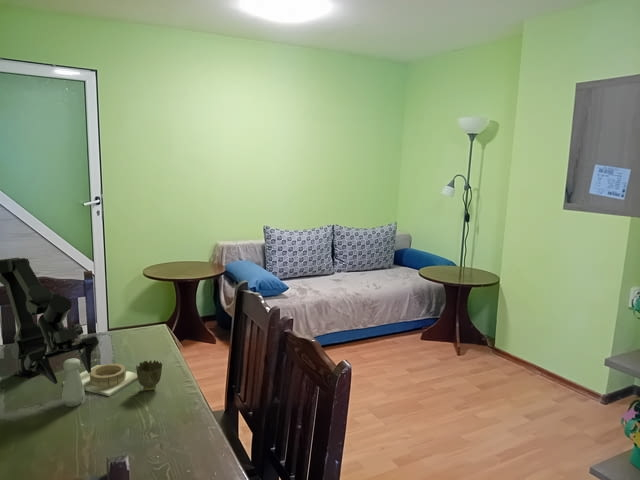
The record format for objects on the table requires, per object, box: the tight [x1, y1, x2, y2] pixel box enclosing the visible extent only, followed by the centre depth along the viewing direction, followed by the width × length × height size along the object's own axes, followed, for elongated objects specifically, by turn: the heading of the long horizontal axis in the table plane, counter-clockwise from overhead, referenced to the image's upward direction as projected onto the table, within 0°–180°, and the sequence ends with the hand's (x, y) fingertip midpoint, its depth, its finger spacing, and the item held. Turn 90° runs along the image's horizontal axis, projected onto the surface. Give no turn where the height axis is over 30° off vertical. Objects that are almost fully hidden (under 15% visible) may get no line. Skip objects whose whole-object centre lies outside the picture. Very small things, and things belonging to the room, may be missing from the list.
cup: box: [135, 360, 163, 393], centre depth 141 cm, size 8×7×8 cm
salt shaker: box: [61, 357, 86, 408], centre depth 131 cm, size 6×6×13 cm
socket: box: [62, 363, 138, 397], centre depth 145 cm, size 18×14×4 cm
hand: (73, 377), depth 130 cm, fingers open, 9 cm apart
